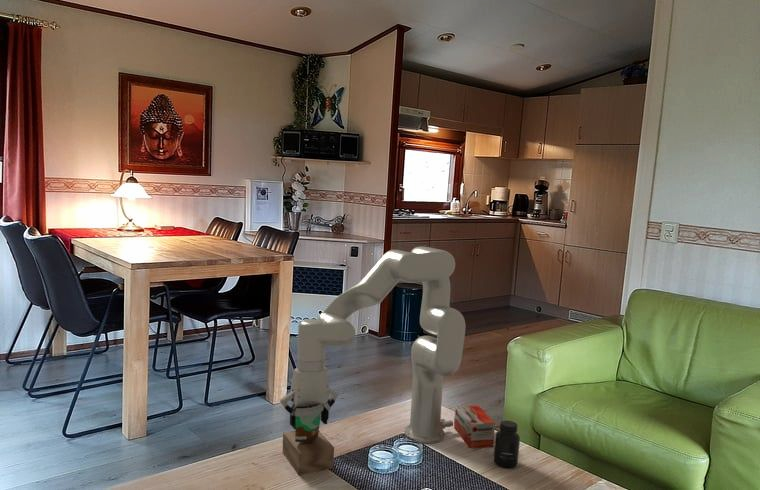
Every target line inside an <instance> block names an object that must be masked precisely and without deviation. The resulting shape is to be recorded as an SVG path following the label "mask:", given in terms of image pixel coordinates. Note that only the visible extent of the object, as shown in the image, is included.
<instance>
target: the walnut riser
mask: <svg viewBox="0 0 760 490" xmlns="http://www.w3.org/2000/svg"><path fill="white" fill-rule="evenodd" d="M282 454H283V455H284V457H285V458H286V460H287V461H288V462H289V464H290V465H291V466H292V468H293V470H294V471H295V472H296V474H297V475H298V476H301V475H307V474H312V473H317V472H321V471H327V470H331V469H334V463H335V462H334V460H335V447H334V445H332V443H331V442H330V441H328V439H327V438H326V436H325V435H323V433H322V432H321V431H320V430H319V433H318V437H317V438H316V439H314V440H312V441H308V442H295V430H292V431H291V430H290V431H284V432H282Z"/></svg>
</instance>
